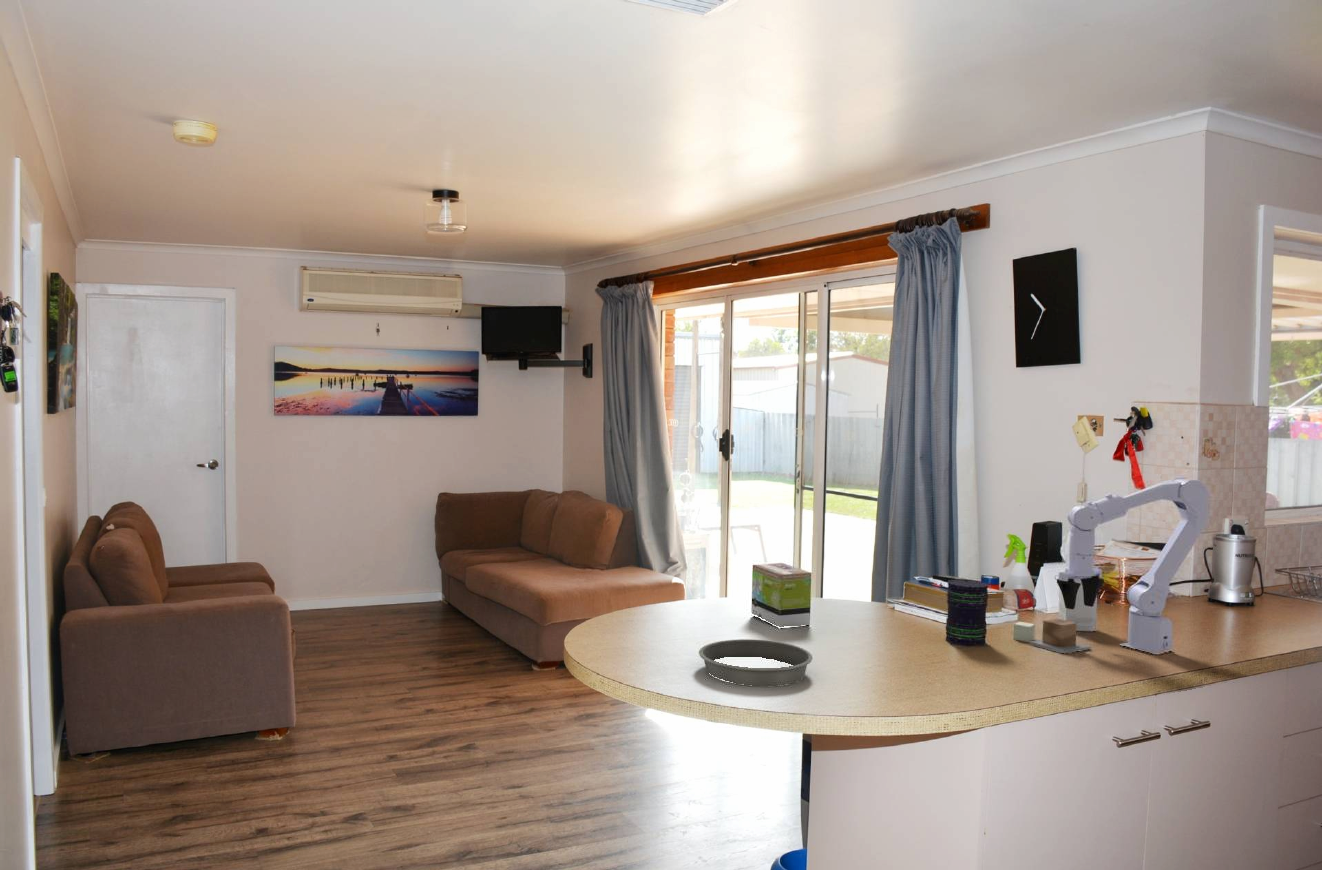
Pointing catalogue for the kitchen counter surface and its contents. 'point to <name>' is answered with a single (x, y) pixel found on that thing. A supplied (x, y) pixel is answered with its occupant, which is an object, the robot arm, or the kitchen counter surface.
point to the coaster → (1059, 649)
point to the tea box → (781, 594)
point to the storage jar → (966, 612)
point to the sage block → (1024, 631)
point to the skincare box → (1079, 611)
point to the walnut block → (1059, 632)
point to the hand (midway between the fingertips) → (1079, 607)
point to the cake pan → (756, 649)
